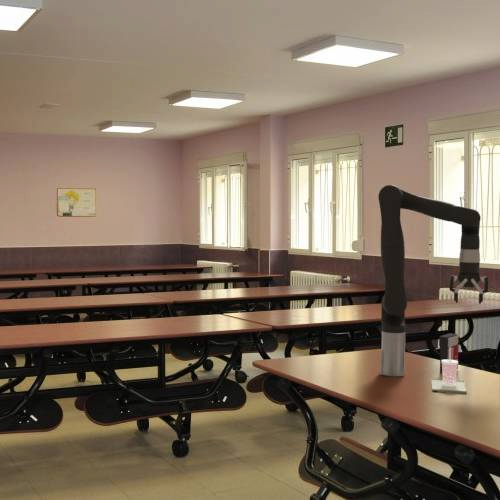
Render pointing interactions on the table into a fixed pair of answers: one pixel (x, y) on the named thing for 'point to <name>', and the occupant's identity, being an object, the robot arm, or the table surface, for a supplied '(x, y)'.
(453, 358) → the grey and red box
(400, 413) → the table surface
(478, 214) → the robot arm
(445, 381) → the beverage cup
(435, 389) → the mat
